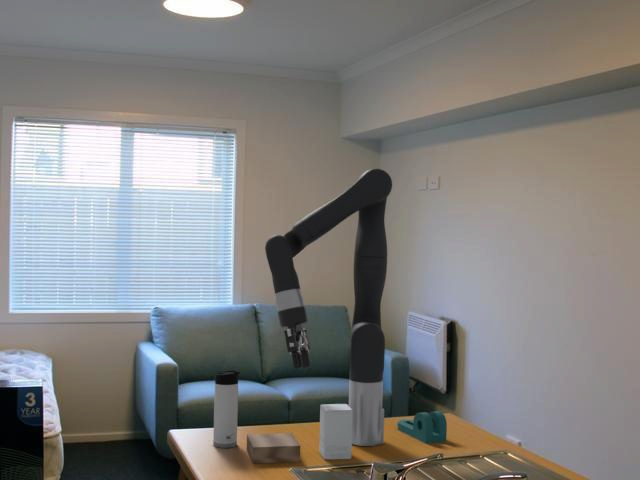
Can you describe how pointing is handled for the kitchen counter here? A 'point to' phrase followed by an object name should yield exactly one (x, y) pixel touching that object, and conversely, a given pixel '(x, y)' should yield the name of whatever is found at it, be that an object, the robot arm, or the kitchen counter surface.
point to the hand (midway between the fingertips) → (302, 367)
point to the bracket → (425, 427)
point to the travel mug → (226, 409)
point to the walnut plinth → (273, 448)
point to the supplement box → (335, 431)
